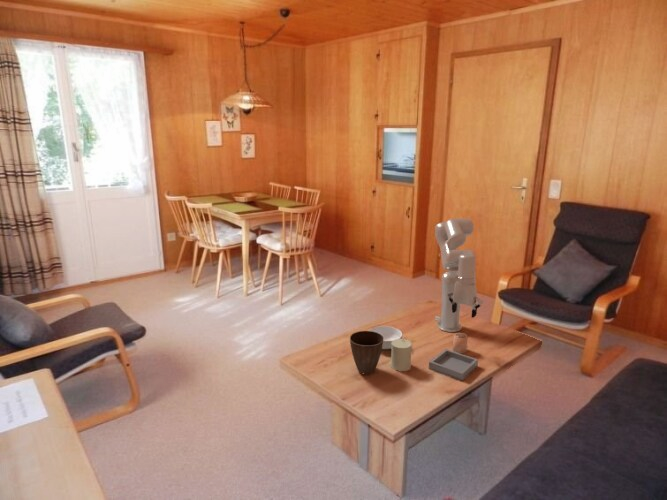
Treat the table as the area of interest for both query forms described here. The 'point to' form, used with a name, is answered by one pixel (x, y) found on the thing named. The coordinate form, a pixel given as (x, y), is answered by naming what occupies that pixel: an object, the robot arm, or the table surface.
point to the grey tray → (453, 364)
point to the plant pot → (366, 350)
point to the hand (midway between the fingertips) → (463, 314)
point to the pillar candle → (401, 354)
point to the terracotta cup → (460, 343)
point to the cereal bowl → (387, 335)
